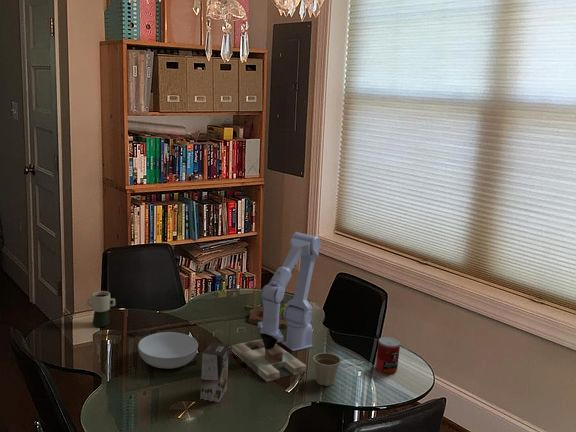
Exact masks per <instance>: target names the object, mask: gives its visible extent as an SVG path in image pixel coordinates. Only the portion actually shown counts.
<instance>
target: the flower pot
mask: <svg viewBox="0 0 576 432" xmlns="http://www.w3.org/2000/svg"><path fill="white" fill-rule="evenodd" d="M313 362H314V366H315V379H316V380H315V381H316V383H317V384H318V385H320V386H326V387H328V386H329V387H330V386H333V385H334V384H335V382H336V378H337V372H338V368H339V366H340V363H342V359H341V357H340V356H338V355H337V354H334V353H331V352H320V353H317V354H314V355H313Z"/></svg>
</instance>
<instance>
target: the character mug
mask: <svg viewBox="0 0 576 432" xmlns="http://www.w3.org/2000/svg"><path fill="white" fill-rule="evenodd" d="M90 301H91V303H90ZM111 302H112V303H111ZM86 305H87V306H88V307H91V311H93V318H92V325H94V327H101V328H102V327H106V326H108V325H109V324H110V318H109V312H108V311H109V310H110V309H111V307H115V306H116V298H114V297H113V298H111V293H110V292H109V291H106V290H99V291H94V292H93V293H91V297H87V298H86Z"/></svg>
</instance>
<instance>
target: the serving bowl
mask: <svg viewBox="0 0 576 432" xmlns="http://www.w3.org/2000/svg"><path fill="white" fill-rule="evenodd" d="M137 349H138V353H139V356H140V357H141V359H142V360H143V361H144V362H145V363H146V364H147V365H149V366H152V367H154V368H159V369H166V370H167V369H177V368H181V367H183V366H185V365H188V364H189V363H190V362H192V361H193V360H194V358H195V357H196V355H197V353H198V349H199V342H198V341H197V339H196V338H195V337H193V336H191V335H188V334H186V333H181V332H175V331H174V332H173V331H166V332H165V331H164V332H156V333H152V334H149V335H147V336H145V337H143V338H142V339H140V341H139V342H138V344H137Z"/></svg>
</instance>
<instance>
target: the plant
mask: <svg viewBox="0 0 576 432" xmlns="http://www.w3.org/2000/svg"><path fill="white" fill-rule="evenodd" d="M281 303H283V307H281V306H282V305H281ZM286 305H287V302H285V301H283V300H282V301H281V302H280V312H279V327H278V329H279V330H280V329H284V330H287V326H288V324H287V323H286V320H285V319H284V316H283V313H284V309H285V308H286ZM263 310H264V305H263V306H262V305H261V306H258V307H256V308H254V309H252V310H251V311H249V317H248V323H250V324H251V325H257V326H258V322H263Z"/></svg>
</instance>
